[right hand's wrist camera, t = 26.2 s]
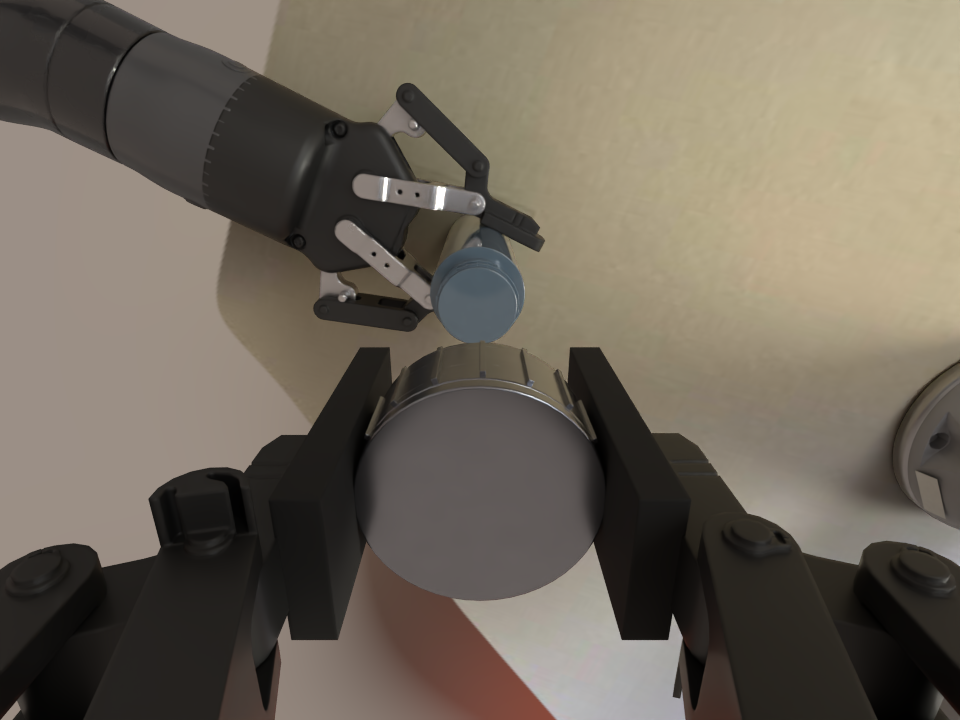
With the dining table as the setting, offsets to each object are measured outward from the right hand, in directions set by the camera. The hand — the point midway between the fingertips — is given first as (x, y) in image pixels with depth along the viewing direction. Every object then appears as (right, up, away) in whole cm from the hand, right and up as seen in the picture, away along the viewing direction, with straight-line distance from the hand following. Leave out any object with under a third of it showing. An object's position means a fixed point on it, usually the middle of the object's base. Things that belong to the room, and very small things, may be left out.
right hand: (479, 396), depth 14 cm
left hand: (+2, +5, +17) cm, 18 cm away
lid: (0, -2, -4) cm, 4 cm away
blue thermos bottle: (0, +9, +23) cm, 24 cm away
